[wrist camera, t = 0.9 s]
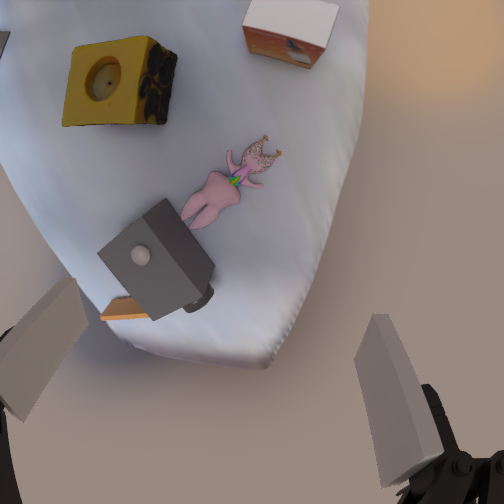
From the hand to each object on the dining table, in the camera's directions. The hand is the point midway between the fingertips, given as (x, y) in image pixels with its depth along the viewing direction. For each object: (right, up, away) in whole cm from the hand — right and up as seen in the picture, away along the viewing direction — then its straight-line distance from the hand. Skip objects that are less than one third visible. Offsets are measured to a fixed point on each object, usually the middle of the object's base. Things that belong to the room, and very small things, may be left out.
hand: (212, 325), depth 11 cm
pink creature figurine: (-1, +12, +24) cm, 27 cm away
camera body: (-10, +3, +29) cm, 31 cm away
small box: (+6, +29, +16) cm, 33 cm away
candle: (-13, +25, +19) cm, 34 cm away
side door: (-17, -5, +33) cm, 37 cm away
